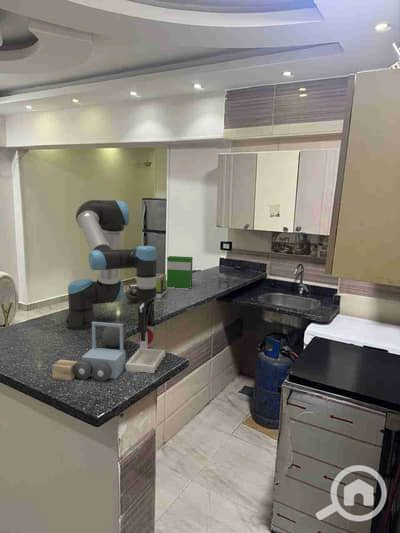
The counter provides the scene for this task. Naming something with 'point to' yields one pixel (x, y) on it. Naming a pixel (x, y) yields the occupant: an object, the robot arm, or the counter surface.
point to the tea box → (160, 285)
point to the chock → (64, 370)
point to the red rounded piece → (149, 336)
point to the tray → (145, 360)
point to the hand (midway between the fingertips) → (146, 345)
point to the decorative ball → (113, 336)
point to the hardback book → (179, 272)
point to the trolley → (102, 359)
